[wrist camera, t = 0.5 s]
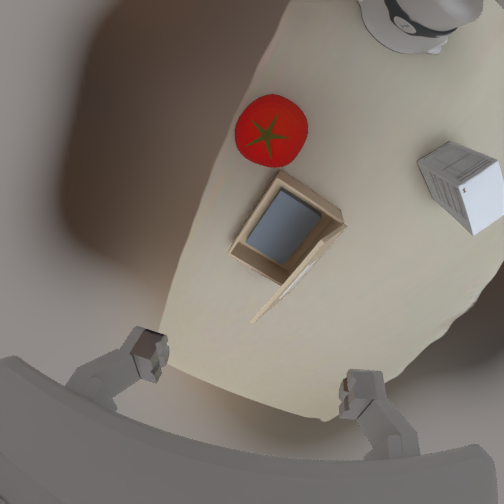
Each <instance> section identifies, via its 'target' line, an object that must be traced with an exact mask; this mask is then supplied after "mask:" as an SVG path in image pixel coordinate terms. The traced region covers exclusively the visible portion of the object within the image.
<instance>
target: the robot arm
mask: <svg viewBox="0 0 504 504" xmlns="http://www.w3.org/2000/svg"><path fill="white" fill-rule="evenodd" d="M357 1H358V3H359V4H360V6H361V12H362V17H363V20H364V23H365V25H366V27H367V29H368V30H369V31H370V33H371V34H372V35H373V36H374V37H375V38H376V39H377V40H378V41H379V42H380V43H382V44H383V45H384V46H386V47H388V48H389V49H391V50H394V51H396V52H399V53H403V54H417V53H428V54H431V55H437V54H439V53H440V51H441V48H442V45H443V44H445V43H446V42H447V41H448V39H447V38H448V35H449V34H451V33H452V32H453V31H455V30H456V29H457V28H458V27H459V26H462V25H465V24H467V23H470V22H473V21H475V20H476V19H477V18H478V17H479V16H480V15H481V13H482V11H483V0H357ZM495 1H496V2H497V3H498V4H499V5H500V6H501V7H502V8H503V9H504V0H495ZM167 341H168V338H167V335H164V334H161V333H158V332H155V331H152V330H149V329H145V328H142V327H139V326H136V327H134V328H133V330H132V331H131V333H130V334H129V336H128V337H127V339H126V340H125V342H124V343H123V345H122V346H121V348H120V349H119V350H118V349H115V350H113V351H112V352H109V353H107V354H105V355H103V356H101V357H99V358H97V359H94V360H92V361H90V362H88V363H86V364H84V365H82V366H80V367H78V368H77V369H76V371H75V372H74V373H73V375H72V376H71V378H70V379H69V381H68V382H67V384H66V385H65V386H63V385H61V384H60V383H58V382H56V381H54V380H53V379H51V378H49V377H48V376H46V375H45V374H43V373H41V372H40V371H38V370H37V369H35V368H34V367H32V366H31V365H29V364H28V363H26V362H25V361H24V360H22V359H21V358H19V357H18V356H14V355H13V356H8V357H5V358H2V359H0V504H498V492H497V477H496V469H495V464H494V461H493V459H492V458H491V456H490V455H489V454H488V453H487V452H486V451H485V450H484V449H483V448H482V447H481V446H480V445H478V444H471V445H468V446H464V447H460V448H456V449H451V450H446V451H441V452H436V453H430V454H425V455H420V448H419V441H418V435H417V432H416V430H415V429H414V428H413V427H412V426H411V425H410V423H409V422H408V421H407V420H406V419H405V417H404V416H403V415H402V414H401V413H400V412H399V410H398V409H397V408H396V407H395V406H394V405H393V403H392V402H391V401H390V400H387V397H386V391H385V386H384V380H383V374H382V372H381V371H372V370H371V371H370V370H360V369H350V370H348V372H347V378H345V379H343V380H342V382H341V385H340V388H339V399H340V400H341V401H342V403H341V404H340V406H339V418H341V419H357V420H356V421H357V422H358V424H359V426H360V427H361V429H362V431H363V432H364V434H365V436H366V437H367V439H368V440H369V442H370V444H371V445H372V447H373V449H372V450H371V451H370V452H368V453H367V454H366V455H365V456H364V460H357V461H356V460H354V461H338V460H312V459H298V458H288V457H279V456H271V455H263V454H257V453H250V452H245V451H240V450H235V449H230V448H225V447H221V446H217V445H212V444H208V443H204V442H200V441H197V440H193V439H189V438H186V437H183V436H179V435H175V434H172V433H170V432H166V431H164V430H161V429H158V428H155V427H152V426H149V425H147V424H144V423H141V422H139V421H136V420H134V419H131V418H129V417H126V416H124V415H122V414H119V413H117V412H116V411H117V406H116V404H115V403H114V401H113V399H112V398H113V397H115V396H116V395H117V394H119V393H120V392H122V391H124V390H125V389H126V388H128V387H129V386H131V385H132V384H134V383H135V382H137V381H138V380H140V379H144V380H147V381H150V382H153V383H157V382H158V380H159V378H160V376H161V374H162V372H161V368H162V367H164V366H165V365H166V363H167V361H168V358H169V346H168V345H167V344H166V343H167Z"/></svg>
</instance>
